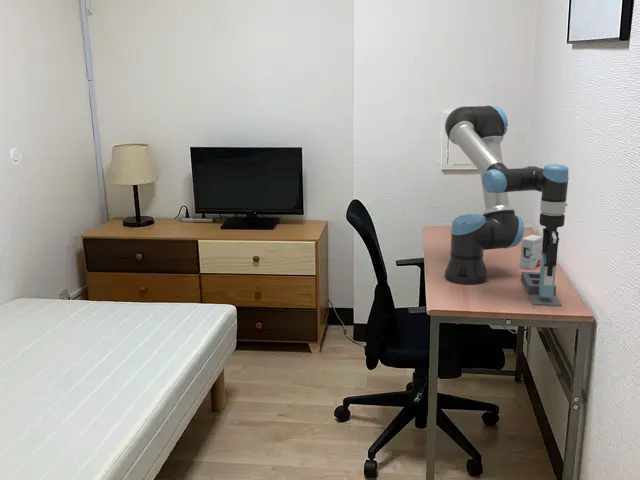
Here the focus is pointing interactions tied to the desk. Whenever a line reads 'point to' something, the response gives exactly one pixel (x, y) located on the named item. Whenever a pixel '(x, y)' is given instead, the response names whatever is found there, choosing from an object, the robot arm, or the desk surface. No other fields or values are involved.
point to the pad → (545, 300)
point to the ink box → (531, 251)
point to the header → (532, 282)
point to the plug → (543, 289)
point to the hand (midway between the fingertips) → (546, 282)
